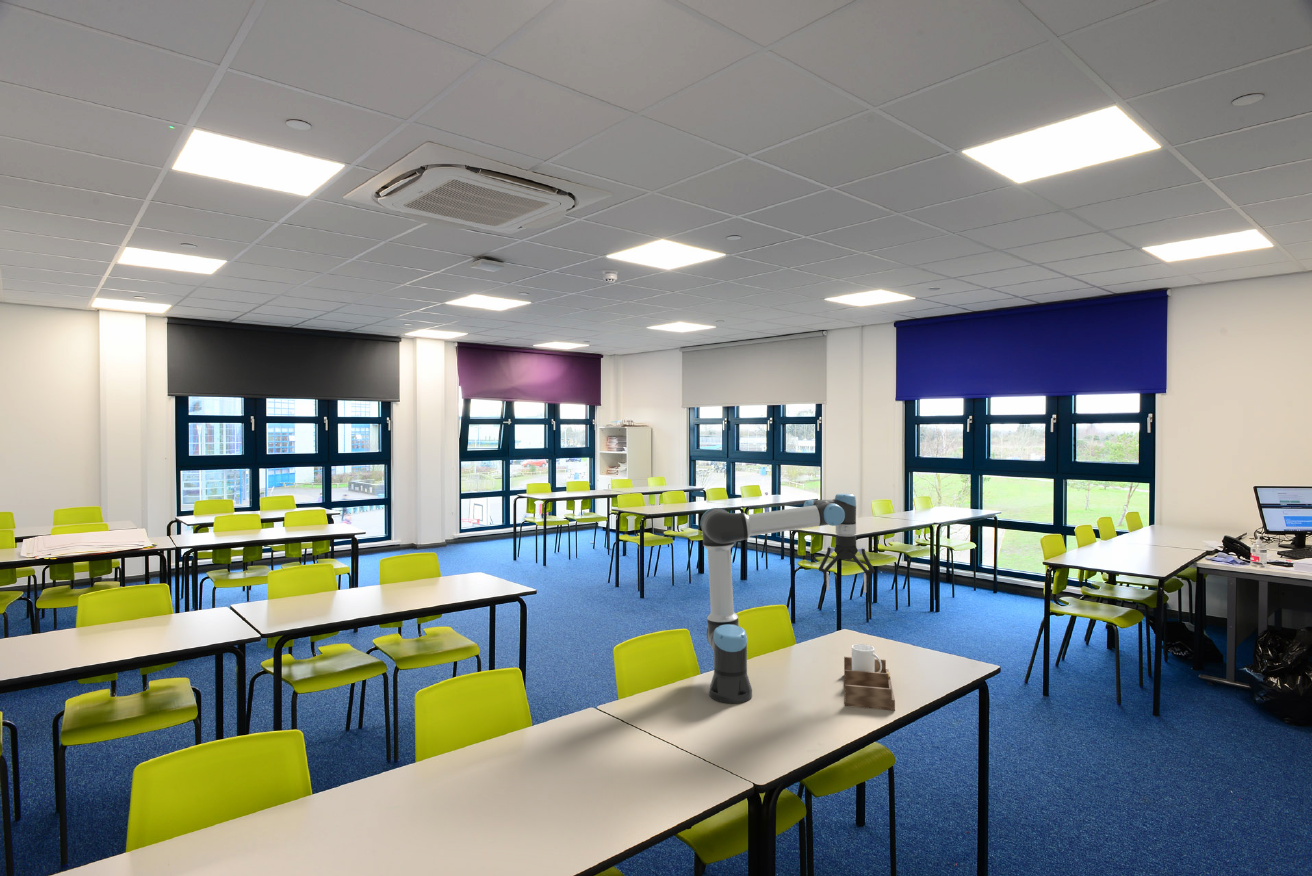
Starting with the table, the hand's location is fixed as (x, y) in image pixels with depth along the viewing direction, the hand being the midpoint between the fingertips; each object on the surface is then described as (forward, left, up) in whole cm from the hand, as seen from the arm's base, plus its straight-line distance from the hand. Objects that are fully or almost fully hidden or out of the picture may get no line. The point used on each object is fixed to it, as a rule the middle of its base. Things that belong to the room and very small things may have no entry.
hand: (846, 590), depth 252 cm
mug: (+7, -6, -32) cm, 33 cm away
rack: (+7, -13, -33) cm, 36 cm away
